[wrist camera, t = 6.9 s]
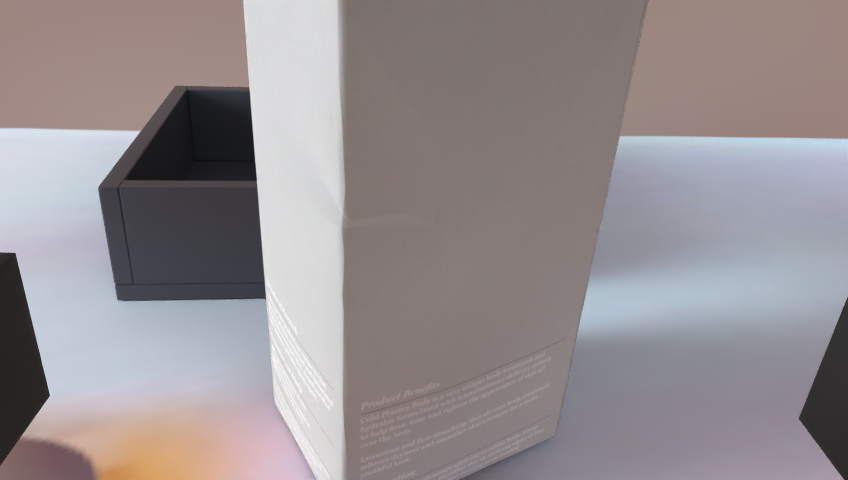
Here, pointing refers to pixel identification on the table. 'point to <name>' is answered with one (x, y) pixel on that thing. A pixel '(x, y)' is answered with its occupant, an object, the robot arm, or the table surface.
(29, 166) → the table surface
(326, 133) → the cosmetic box
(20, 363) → the robot arm
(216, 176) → the box
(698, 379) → the table surface
